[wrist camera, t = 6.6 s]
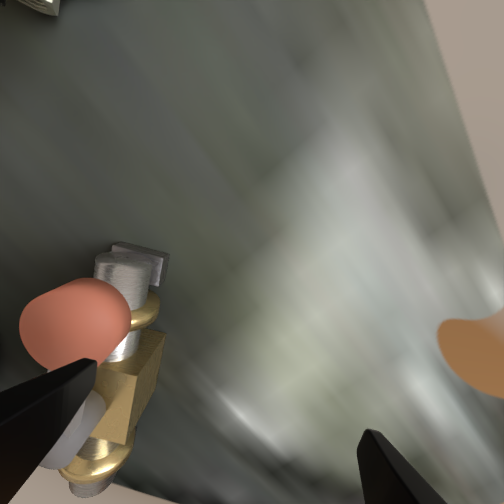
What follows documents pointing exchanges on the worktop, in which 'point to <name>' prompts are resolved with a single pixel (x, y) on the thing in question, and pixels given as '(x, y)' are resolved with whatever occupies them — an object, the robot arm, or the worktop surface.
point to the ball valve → (41, 5)
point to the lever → (75, 346)
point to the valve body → (122, 368)
